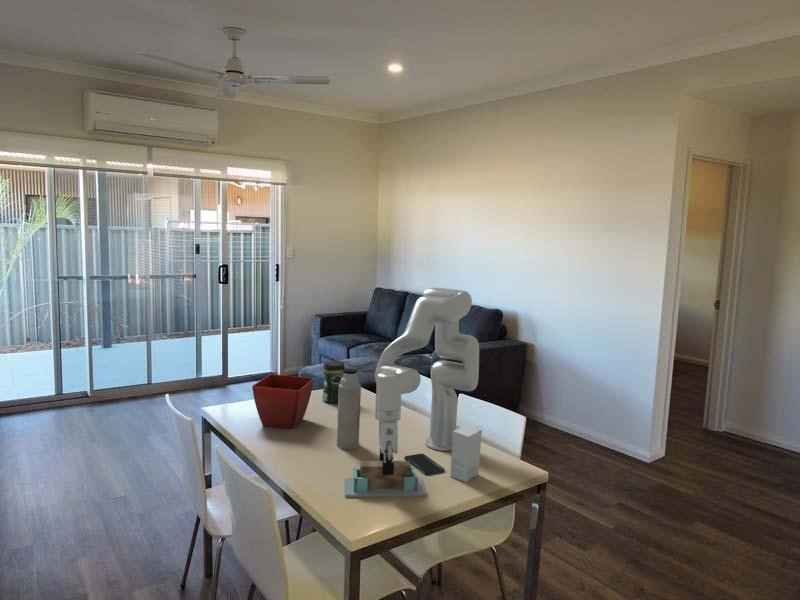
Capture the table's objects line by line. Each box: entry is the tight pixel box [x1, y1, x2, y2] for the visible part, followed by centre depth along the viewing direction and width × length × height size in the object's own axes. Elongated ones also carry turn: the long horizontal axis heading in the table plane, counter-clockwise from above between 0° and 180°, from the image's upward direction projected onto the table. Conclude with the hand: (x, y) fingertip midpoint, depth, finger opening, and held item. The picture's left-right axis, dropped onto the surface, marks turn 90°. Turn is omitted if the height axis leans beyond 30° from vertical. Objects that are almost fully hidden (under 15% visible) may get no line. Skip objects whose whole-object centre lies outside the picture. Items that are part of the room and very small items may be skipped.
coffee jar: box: [322, 360, 346, 404], centre depth 254 cm, size 10×8×19 cm
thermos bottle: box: [336, 368, 362, 450], centre depth 201 cm, size 8×8×28 cm
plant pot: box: [251, 373, 315, 430], centre depth 222 cm, size 19×19×17 cm
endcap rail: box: [343, 467, 427, 498], centre depth 169 cm, size 24×11×5 cm, turn 97°
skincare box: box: [449, 424, 483, 483], centre depth 180 cm, size 8×7×16 cm
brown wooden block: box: [359, 460, 412, 489], centre depth 169 cm, size 15×4×7 cm, turn 97°
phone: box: [404, 453, 445, 476], centre depth 188 cm, size 8×1×15 cm
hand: (386, 467), depth 169 cm, fingers open, 9 cm apart
